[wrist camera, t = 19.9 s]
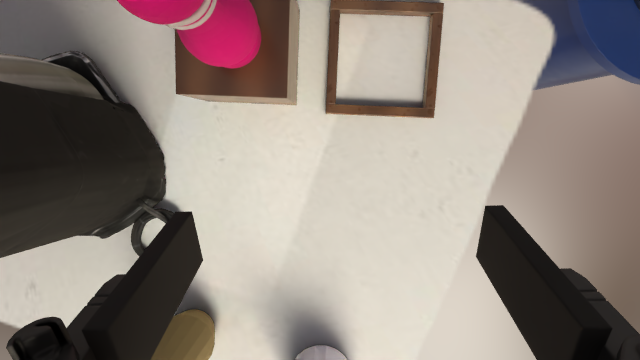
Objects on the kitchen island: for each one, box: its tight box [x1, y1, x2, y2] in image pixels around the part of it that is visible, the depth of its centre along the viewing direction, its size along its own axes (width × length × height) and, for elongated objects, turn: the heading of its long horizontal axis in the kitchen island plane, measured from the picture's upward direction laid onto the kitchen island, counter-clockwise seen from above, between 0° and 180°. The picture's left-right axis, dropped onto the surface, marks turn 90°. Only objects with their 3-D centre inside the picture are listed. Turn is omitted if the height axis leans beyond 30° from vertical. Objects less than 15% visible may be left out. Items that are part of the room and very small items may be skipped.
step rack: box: [175, 0, 444, 118], centre depth 41 cm, size 30×14×10 cm, turn 88°
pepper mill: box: [117, 0, 261, 68], centre depth 27 cm, size 7×7×20 cm
